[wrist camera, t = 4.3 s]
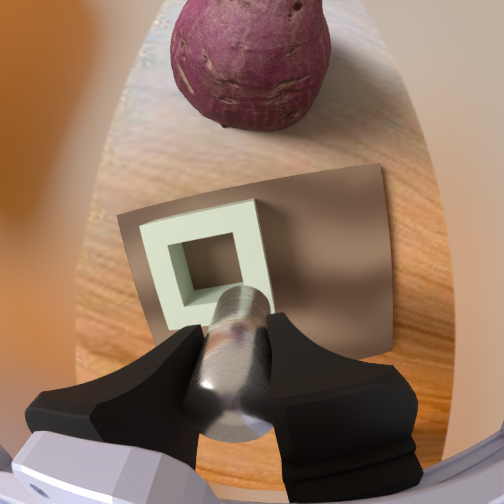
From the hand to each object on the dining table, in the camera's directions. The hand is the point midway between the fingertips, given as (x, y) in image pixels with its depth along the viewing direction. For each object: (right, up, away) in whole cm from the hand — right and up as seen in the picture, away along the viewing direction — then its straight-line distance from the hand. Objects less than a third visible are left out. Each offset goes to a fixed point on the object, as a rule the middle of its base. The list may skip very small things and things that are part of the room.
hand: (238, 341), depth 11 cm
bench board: (+1, +1, +11) cm, 11 cm away
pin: (0, +1, +3) cm, 3 cm away
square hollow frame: (-2, +3, +10) cm, 11 cm away
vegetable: (0, +17, +7) cm, 18 cm away
